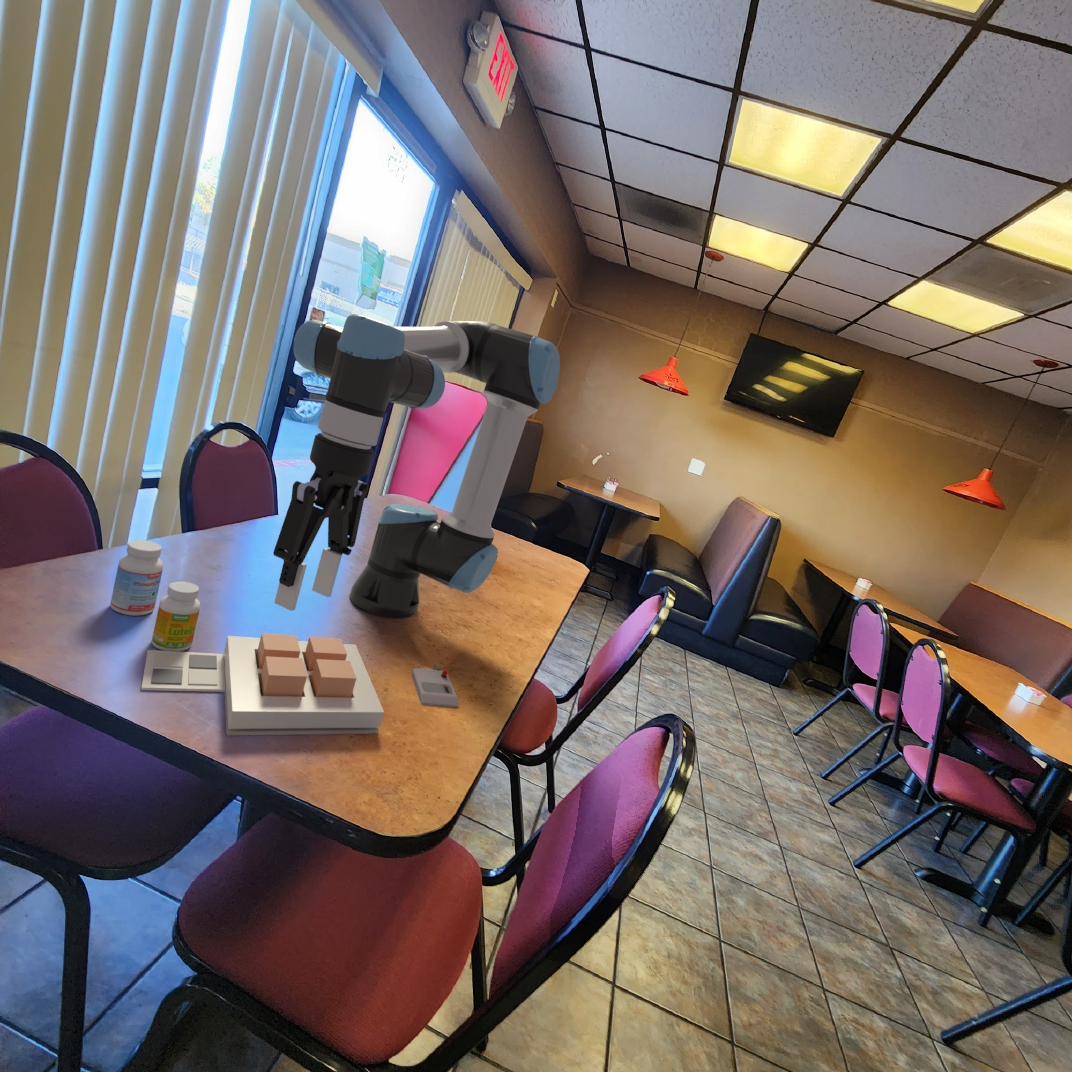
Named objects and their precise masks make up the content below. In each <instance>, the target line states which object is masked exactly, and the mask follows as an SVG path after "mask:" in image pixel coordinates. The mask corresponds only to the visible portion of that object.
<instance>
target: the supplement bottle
mask: <svg viewBox="0 0 1072 1072" xmlns="http://www.w3.org/2000/svg"><path fill="white" fill-rule="evenodd" d="M199 590H200V587H199V586H198V585H197V584H195V583H192V582H188V581H173V582H171V583H169V584H168V587H167V593H166V594H167V595H165V596H163V597H162V598H161V599H160V601H159V606H158V609H157V614H156V618H155V623H154V629H153V632H152V637H151V643H152V645H153V646H154V647H155V649H158V650H159V651H177V652H184V651H186V650H188V649H189V648H191V646H192V644H193V642H194V636H195V633H196V628H197V622H198V619H199V616H200V615H199V614H200V610H201V602H200V600H199V599H198V596H199Z"/></svg>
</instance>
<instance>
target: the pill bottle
mask: <svg viewBox="0 0 1072 1072" xmlns="http://www.w3.org/2000/svg"><path fill="white" fill-rule="evenodd" d="M126 547H127V548H126V553H127V554H125V555H122V556H121V557H120V559H119V560H118V564H117V568H116V569H117V570H116V574H115V579H114V583H113V588H112V589H113V590H112V595H111V600H110V608H111V610H114V611H115V612H117V613H119V614H122V615H126V616H135V617H136V616H137V617H138V616H144V615H147V614H150V613H152V612H153V611H154V610H155V607H156V603H157V597H158V593H159V590H160V589H159V588H160V585H161V579H162V575H163V570H164V562H163V561H162V559H160V557H161V554H162V550H163V547H162V546H161V544H158V543H157V542H154V541H150V540H143V539H142V540H141V539H137V540H131V541H129V542H127V546H126Z"/></svg>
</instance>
